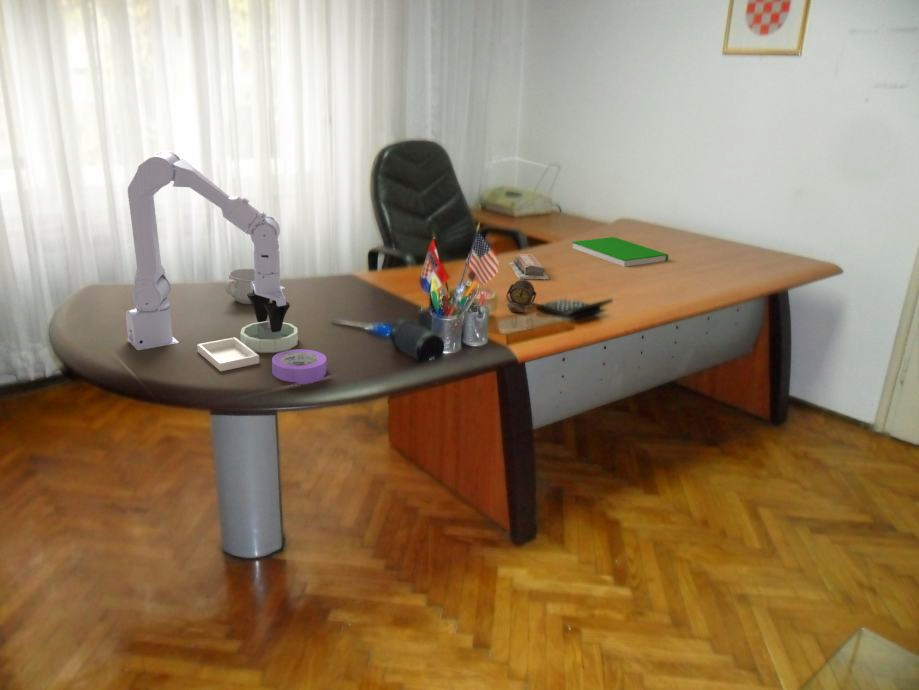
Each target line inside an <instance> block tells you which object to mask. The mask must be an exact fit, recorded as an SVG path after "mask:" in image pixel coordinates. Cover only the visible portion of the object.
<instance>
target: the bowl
mask: <svg viewBox="0 0 919 690" xmlns="http://www.w3.org/2000/svg"><path fill="white" fill-rule="evenodd" d="M265 322H270V321H269V320H268V321H265ZM258 323H264V322H258V321H257V322H252V323H250V324H246V325H245V326H243V327H241V329H240V334H239V335H240V336H239V338H240V341H241V342H242V343H243V344H245V345H246V346H247V347H249V348H250V349H251V350H253V351H254V352H255V353H280V352H283V351H287V350H292V348H294V347H296V346H298V341H299V339H298V338H299V336H298V331H299V330H298V329H299V328H298V327H297V326H295V325H293V323H289V322H284V321H283V324H282V328H281V331H280V333H281V338H278V339H258V332H257V324H258Z"/></svg>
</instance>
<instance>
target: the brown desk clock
mask: <svg viewBox="0 0 919 690" xmlns="http://www.w3.org/2000/svg"><path fill="white" fill-rule="evenodd" d="M536 296H537V292H536V291H535V287H534V285H533V284H532V282H530V281H528V280H524V279H519V280H517V281H515V282H514V283H512V284H510V285H509V288H508V290H507V292H506V295H505V299H506V301H507V302H508V303H507V304H506V306H507V308H508V310H509V311H510V312H512V311H513V313H516V312H523V313H525V311H526V309H528V308H530V307H532V306H533V304H534V302H535V299H536Z"/></svg>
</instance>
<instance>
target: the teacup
mask: <svg viewBox="0 0 919 690" xmlns="http://www.w3.org/2000/svg"><path fill="white" fill-rule="evenodd" d="M253 281H255V272H254V268H249V267H248V268H237V269H236V268H235V269H232V270H231V271H228V280H227V281H226V282H225V285H224V291H225V293H226V294H227V295H229V296H231V297H232V298H233V299H234V300H235V301H236V302H237V303H240V304H243V305H252V303H251V301H250V299H249V298H248V296H247V294H248V293H252V292H253V290H251V282H253Z"/></svg>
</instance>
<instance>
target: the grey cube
mask: <svg viewBox="0 0 919 690" xmlns="http://www.w3.org/2000/svg"><path fill="white" fill-rule="evenodd" d="M257 332H258V339H278V338H281V333H280V331H278V332H272V331H271V328H270V322H264V323H258V324H257Z"/></svg>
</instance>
